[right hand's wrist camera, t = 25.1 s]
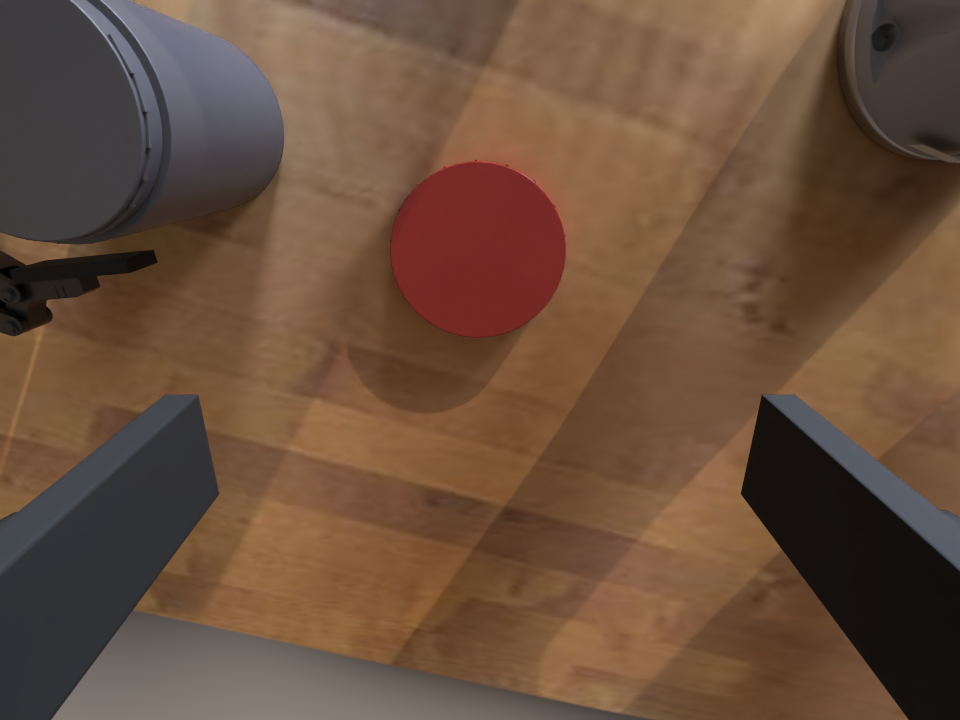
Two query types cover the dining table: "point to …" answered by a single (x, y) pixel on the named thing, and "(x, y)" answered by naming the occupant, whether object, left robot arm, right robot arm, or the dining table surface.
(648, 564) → the dining table surface
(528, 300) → the lid
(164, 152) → the jar
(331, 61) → the dining table surface
